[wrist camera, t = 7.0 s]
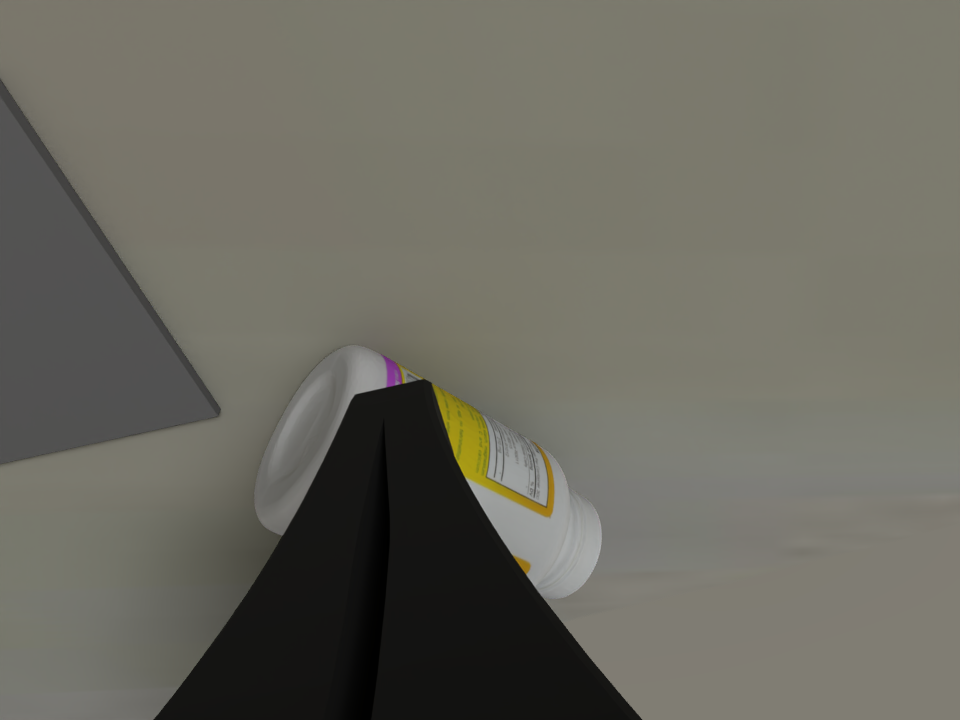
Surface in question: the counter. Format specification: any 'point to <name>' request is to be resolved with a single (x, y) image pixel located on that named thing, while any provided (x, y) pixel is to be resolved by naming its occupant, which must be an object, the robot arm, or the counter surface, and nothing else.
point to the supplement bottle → (478, 450)
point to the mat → (74, 319)
